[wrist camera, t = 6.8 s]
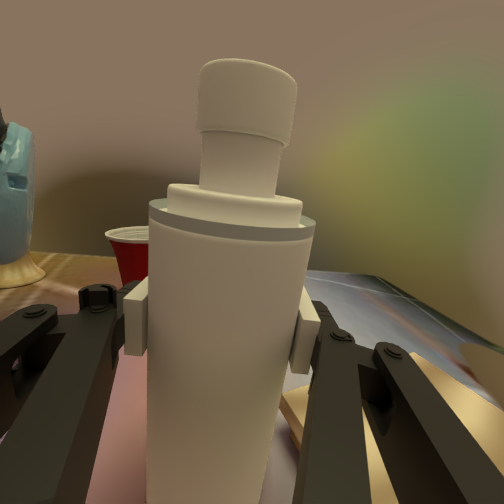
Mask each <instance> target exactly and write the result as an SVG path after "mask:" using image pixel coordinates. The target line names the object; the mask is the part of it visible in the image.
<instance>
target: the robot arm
mask: <svg viewBox="0 0 504 504" xmlns="http://www.w3.org/2000/svg"><path fill="white" fill-rule="evenodd" d="M33 138H34V137H33V134H32V132H31V131H30V130H29V129H27V128H25V127H21V126H19V125H18V124H17V123H14V122H10V123H7V124H5V122H4V120H3V117H2V113H1V109H0V265H6V264H9V263H13V262H15V261H17V260H19V259H20V258H22V257H23V256H24V255H25V254H26V253H27V251H28V249H29V246H30V241H31V233H32V223H33V206H34V180H35V150H34V142H33ZM78 293H79V305H80V310H79V312H78V314H69V315H57V307H55V306H54V305H49V304H36V305H31V306H29V307H25V308H22V309H20V310H18V311H16V312H15V313H13V314H11V315H10V316H8V317H7V318H5V319H4V320H2V321H0V439H1V438H2V436H3V435H4V434H5V433H6V432H7V431H8V430H9V431H8V432H7V434H6V436H5V437H4V439H3V441H2V443H1V444H0V504H85V501H86V497H87V492H88V488H89V484H90V480H91V475H92V471H93V467H94V463H95V458H96V454H97V450H98V446H99V441H100V437H101V433H102V429H103V424H104V420H105V416H106V411H107V407H108V403H109V399H110V394H111V390H112V386H113V382H114V377H115V373H116V369H117V365H118V360H119V355H118V351H119V349H120V348H121V347H122V346H123V344H124V355H133V356H142V355H143V354H144V352H145V351H146V349H147V327H148V276H147V277H146V278H145V279H144V280H143V281H139V280H134V281H132V282H129V283H127V284H126V285H124V286H123V287H122V288H121V289H119V290H118V291H117V293H116V287H115V286H113V285H110V284H94V285H89V286H86V287H84V288H82V289H80V290H79V291H78ZM17 358H18V362H19V363H18V364H17V365H16V366H15V367H14V368H12V366H13V363H14V361H15V360H16V359H17ZM289 363H290V368H291V373H298V374H307V375H308V373H309V369H310V365H311V366H312V370H313V374H312V378H311V382H310V386H309V390H308V395H309V396H308V403H307V410H306V416H305V423H304V429H303V436H302V442H301V449H300V455H299V462H298V469H297V475H296V482H295V488H294V495H293V501H292V504H372V499H371V489H370V480H369V470H368V460H367V451H366V441H365V431H364V422H363V412H362V408H363V410H364V413H365V416H366V418H367V421H368V424H369V426H370V429H371V431H372V434H373V437H374V439H375V442H376V445H377V447H378V450H379V453H380V455H381V458H382V460H383V463H384V466H385V468H386V471H387V474H388V476H389V479H390V482H391V484H392V487H393V489H394V492H395V495H396V497H397V500H398V503H399V504H504V476H503V475H502V473H501V472H500V471H499V470H498V468H497V467H496V466H495V464H494V463H493V462H492V461H491V459H490V458H489V457H488V455H487V454H486V453H485V451H484V450H483V449H482V448H481V446H480V445H479V444H478V442H477V441H476V440H475V439H474V437H473V436H472V435H471V433H470V432H469V431H468V429H467V428H466V427H465V426H464V424H463V423H462V422H461V420H460V419H459V418H458V417H457V415H456V414H455V413H454V411H453V410H452V409H451V407H450V406H449V405H448V404H447V402H446V401H445V400H444V398H443V397H442V396H441V395H440V393H439V392H438V391H437V389H436V388H435V387H434V385H433V384H432V383H431V382H430V380H429V379H428V378H427V376H426V375H425V374H424V373H423V371H422V370H421V369H420V367H419V366H418V365H417V363H416V362H415V361H414V360H413V358H412V357H411V356H410V355H409V354H408V353H407V352H406V351H405V350H403V349H402V348H401V347H399V346H397V345H395V344H392V343H387V342H379V343H377V344H376V346H375V349H374V350H372V349H369V348H366V347H363V346H360V345H357V344H355V340H354V337H353V336H352V335H351V334H350V333H348V332H346V331H345V330H342V329H340V328H339V327H338V325H337V324H336V322H335V320H334V318H333V317H332V315H331V313H330V312H329V310H328V308H327V306H325V305H324V304H323V303H322V302H320V301H312V300H310V298H309V296H308V294H307V292H306V290H305V287H304V285H303V290H302V295H301V300H300V305H299V310H298V315H297V320H296V325H295V330H294V335H293V340H292V345H291V350H290V355H289ZM9 428H10V429H9Z"/></svg>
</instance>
